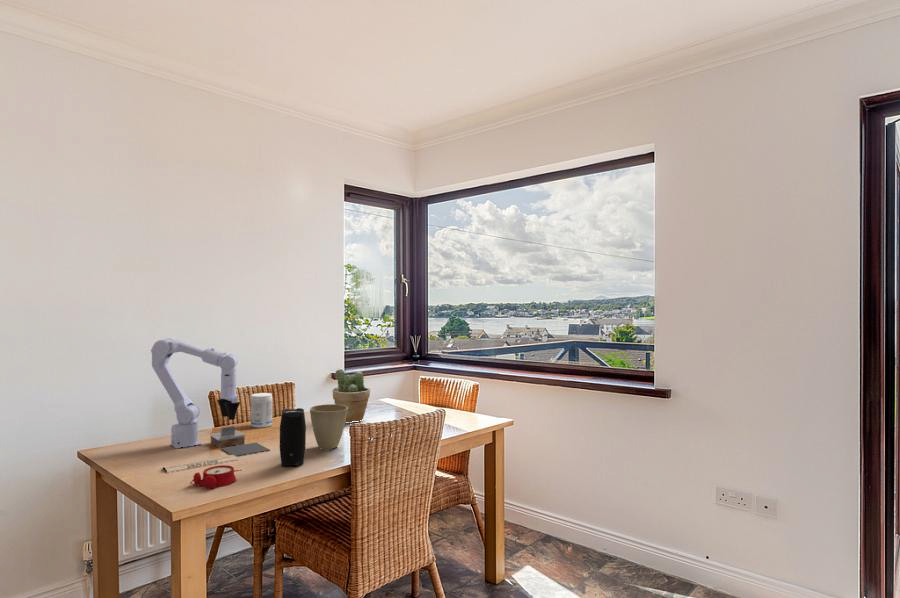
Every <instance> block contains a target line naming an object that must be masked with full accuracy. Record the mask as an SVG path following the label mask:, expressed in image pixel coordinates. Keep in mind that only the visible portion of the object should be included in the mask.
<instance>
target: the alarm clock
mask: <svg viewBox="0 0 900 598" xmlns="http://www.w3.org/2000/svg"><path fill="white" fill-rule="evenodd" d="M238 471H239V472H240V471H242V469H237V470H236V469H235V467H233V466H232V465H226V464H223V465H215V466H214V465H213V466H210V467H208V468H205V469H204V470H203V471H202V476H201V473H200V472H196V473H194V474H193V479H191V481H190V483H189V484H190V485H193V486H195V487H200V486H203V487H204V488H205V489H206V488H207V490H213V489H214V488H218V487H224V486H228V485H230V484H233V483H235V482H236V481H237V477H236V476H235V472H238ZM234 481H235V482H234ZM192 482H193V483H192ZM212 488H213V489H212Z"/></svg>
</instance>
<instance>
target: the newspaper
mask: <svg viewBox="0 0 900 598" xmlns="http://www.w3.org/2000/svg"><path fill="white" fill-rule="evenodd" d="M234 460H236V461H238V458H237V457H236V456H235V455H225V456H220V457H214V458H208V459H203V460H202V459H201V460H197V461H192V462H191V461H190V462H185V463H180V464H175V465H174V464H173V465H169V466H164V467H162V469H163V468H165V469H164V470H166V472H167V474H170V473H169V472H171V473H175V472H174V471H176V472H180V471H179V470H182V471H185V470H184V469H187V470H191V469H190V468H193V469H196V468H195V467H198V468H202V467H201V466H203V467H208V466H207V465H209V466H213V465H212V464H214V465H218V463H220V464H224V463H223V462H225V463H229V462H228V461H231V462H235V461H234Z"/></svg>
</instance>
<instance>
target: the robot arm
mask: <svg viewBox="0 0 900 598" xmlns="http://www.w3.org/2000/svg"><path fill="white" fill-rule="evenodd" d="M150 352H151V367H152V369H153V371H154V373H155V374H156V375H157V377H158V380H160V382H161V385H162V386H163V387H164V389H165V390H166V393H167V394H168V396H169V398H170V400H171V401H172V403H173V405H174V406H173V407H174V411H175V414H176V420H177V423H176V424H172V426H171V429H170V430H171V431H170V432H171V434H170V435H171V436H170V446H172V447H173V446H174V449H181V447H183V448H188V446H189V447H194V445H196V446H201V445H202V443H201V442H200V441H199V439H198V438H199V435H198V434H199V432H198V431H199V428H198V427H199V420H198V417H199V415H200V411H201V410H200V407H199V405H197V404H195V403H194V402H193V400H191V399H190V398H189V397H188V396H187V395H186V393H185V391H184V389H183V387H182V386H181V384H180V383H179V381H178V380H177V378H176V376H175V375H174V373H173V371H172V369H171V367H170V366H169V364H168V363H169V361H170V359H171V357H172V356H173V354H176V353H183V354H188V355H192V356H195V357H198V358H201V360H202V362H204V363H206V364H209V365H212V366H215V367H218V368H220V369H221V371H220V372H221V374H220V393H219V398H220V399H216V402H217V404H218V406H219V409H220V413H221V416H222V417H223V418H224V417H225V418H226V417H227V418H228V421H232V420H235V418H236V415H237V411H238V408H239V407H240V405H241V402H240V401H238V397H240V395H239V394H237V373H236V372H237V365H238V359H237V357H236V356H235V355H233V354H227V352H220V351H218V350H216V348H214V347H212V348H207V349H202V348H200V347H196V346H195V345H191V344H189V343H186V342H185V341H181V340H178V339H172V338H165V339H159V340H157V341H155V342H154V344H153V345H152V348H151V349H150Z"/></svg>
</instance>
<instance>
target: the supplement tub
mask: <svg viewBox="0 0 900 598" xmlns="http://www.w3.org/2000/svg"><path fill="white" fill-rule="evenodd" d="M272 425H273V394H272V393H270V392H257V393H252V394H251V395H250V426H251V427H252V428H255V429H256V428H257V429H259V428H260V429H261V428H262V427H263V428H268V427H271V426H272Z"/></svg>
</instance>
